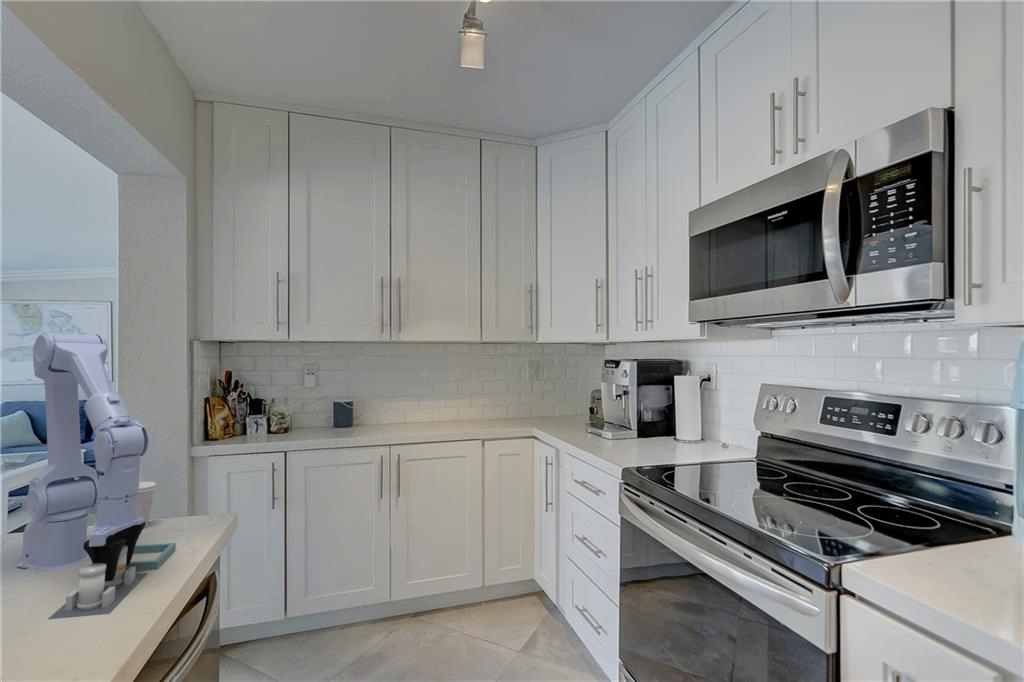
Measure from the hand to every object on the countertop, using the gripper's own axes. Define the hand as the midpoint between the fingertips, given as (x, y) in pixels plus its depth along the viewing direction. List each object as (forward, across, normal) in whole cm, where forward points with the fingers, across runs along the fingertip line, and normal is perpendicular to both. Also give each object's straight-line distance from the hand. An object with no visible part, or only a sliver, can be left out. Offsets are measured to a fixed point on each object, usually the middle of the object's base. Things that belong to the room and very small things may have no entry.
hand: (114, 572), depth 90 cm
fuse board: (+2, -4, 0) cm, 5 cm away
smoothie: (+3, +33, +8) cm, 34 cm away
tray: (+2, +10, 0) cm, 10 cm away
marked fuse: (+2, 0, 0) cm, 2 cm away
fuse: (+2, -8, 0) cm, 8 cm away
